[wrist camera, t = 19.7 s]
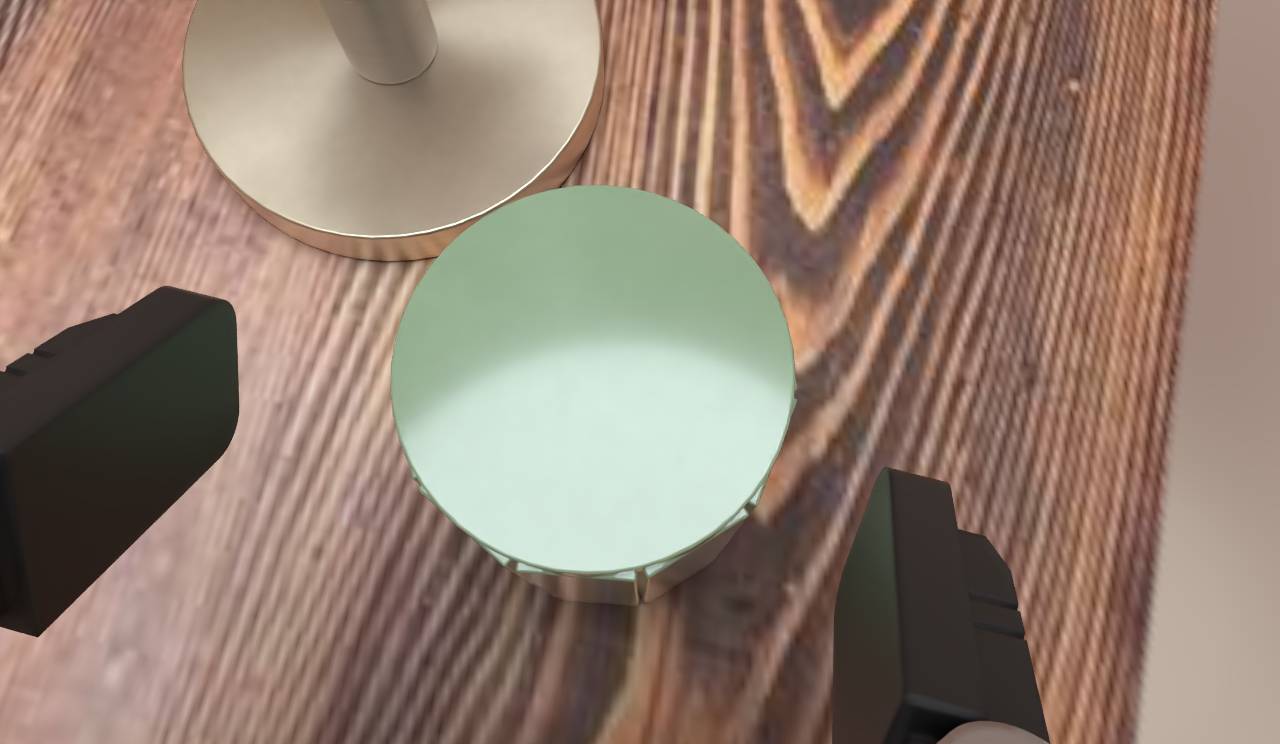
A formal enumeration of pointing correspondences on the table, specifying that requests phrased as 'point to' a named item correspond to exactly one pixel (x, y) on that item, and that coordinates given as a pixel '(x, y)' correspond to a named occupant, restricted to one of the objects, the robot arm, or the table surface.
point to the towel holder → (391, 111)
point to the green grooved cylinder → (594, 389)
